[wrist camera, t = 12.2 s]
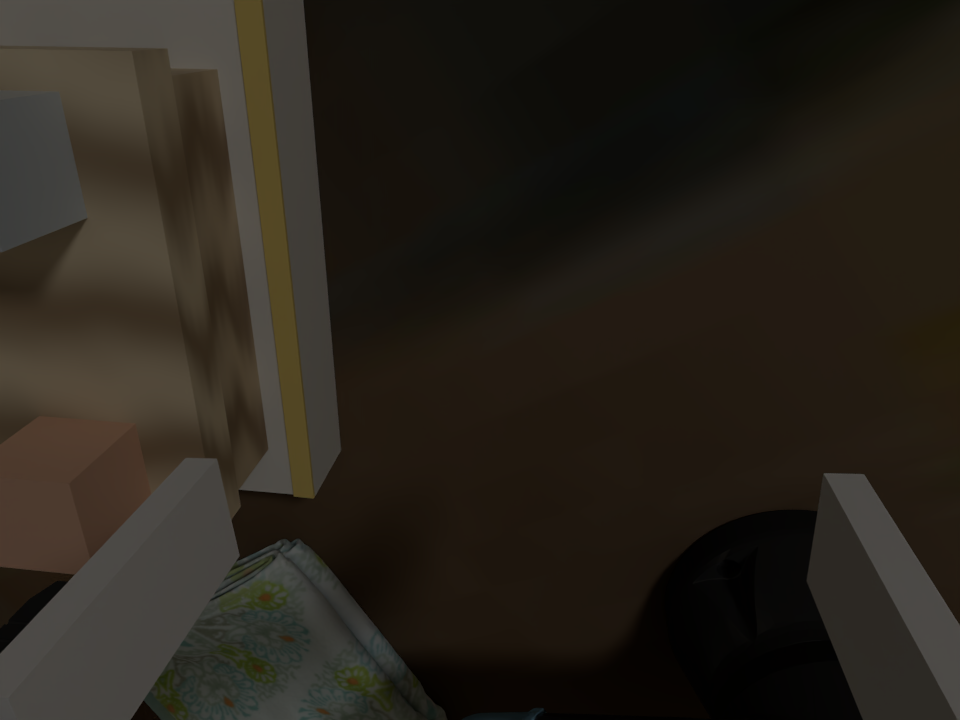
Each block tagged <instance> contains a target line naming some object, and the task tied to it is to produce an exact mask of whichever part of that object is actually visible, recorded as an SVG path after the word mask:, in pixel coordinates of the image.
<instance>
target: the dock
mask: <svg viewBox="0 0 960 720" xmlns="http://www.w3.org/2000/svg"><path fill="white" fill-rule="evenodd" d="M0 46H56V47H115V48H167V49H168V55H169V61H170V67H171V68H180V69H217V70H218V78H219V85H220V93H221V100H222V108H223V115H224V122H225V130H226V137H227V145H228V152H229V160H230V167H231V174H232V182H233V189H234V197H235V204H236V212H237V219H238V226H239V234H240V241H241V249H242V256H243V264H244V271H245V278H246V286H247V293H248V301H249V308H250V316H251V323H252V330H253V338H254V345H255V353H256V360H257V368H258V375H259V382H260V390H261V397H262V405H263V412H264V420H265V427H266V434H267V442H268V451H267V452H266V453H265V455H264V456H263V457H262V459H261V460H260V461H259V463H258V464H257V466H256V467H255V468H254V470H253V471H252V472H251V474H250V475H249V476H248V478H247V479H246V481H245V482H244V483H243V485H242V486H241V487H240V489H239V490H249V491H261V492H272V493H283V494H294V497H304V498H314V497H315V495H316V494H317V492H318V490H319V488H320V486H321V485H322V483H323V481H324V479H325V478H326V476H327V474H328V472H329V470H330V469H331V467H332V465H333V463H334V462H335V460H336V458H337V456H338V455H339V453H340V451H341V445H340V433H339V421H338V410H337V398H336V386H335V374H334V362H333V350H332V338H331V326H330V314H329V302H328V290H327V278H326V267H325V255H324V243H323V231H322V219H321V207H320V195H319V183H318V171H317V159H316V147H315V135H314V124H313V112H312V100H311V88H310V76H309V64H308V52H307V40H306V28H305V16H304V4H303V0H0Z"/></svg>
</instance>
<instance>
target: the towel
mask: <svg viewBox="0 0 960 720" xmlns="http://www.w3.org/2000/svg"><path fill="white" fill-rule="evenodd" d="M144 701H145V702H146V703H147V705H148V706H149V707H150V708H151V709H152V710H153V711H154V712H155V713H156V714H157V715H158V716H159V718H160V719H161V720H447V718H446V715H445V711H444V710H443V709H442V708H441V707H440V706H438V705H436V704H435V703H434V702H433V701H432V700H431V699H430V698H429V697H428V696H427V694H426V693H425V692H424V689H423V686H422V685H421V683H420V681H419V680H418V679H417V678H416V676H415V675H414V674H413V673H412V672H411V670H410V669H409V668H408V667H407V665H406V664H405V663H404V661H403V660H402V659H401V657H400V656H399V655H398V654H397V653H396V652H395V650H394V649H393V647H392V646H391V645H390V643H389V642H388V641H387V640H386V639H385V638H384V636H383V635H382V634H381V632H380V631H379V630H378V628H377V627H376V626H375V625H374V624H373V622H372V621H371V620H370V619H369V617H368V616H367V615H366V614H365V613H364V611H363V610H362V609H361V608H360V606H359V605H358V604H357V602H356V601H355V600H354V599H353V597H352V596H351V595H350V594H349V592H348V591H347V590H346V588H345V587H344V586H343V585H342V584H341V582H340V581H339V579H338V578H337V577H336V576H335V575H334V573H333V572H332V571H331V570H330V569H329V567H328V566H327V565H326V564H325V563H324V562H323V561H322V559H321V558H320V557H319V556H318V555H317V554H316V553H315V552H314V551H313V550H312V549H311V548H310V547H309V546H307V545H305V544H304V543H303V542H302V541H301V540H300V539H296V540H294V541H293V542H291V543H290V542H289V541H288V540H287V539H282V540H280V541H278V542H277V543H276V544H273V545H270V546H268V547H266V548H264V549H262V550H260V551H258V552H256V553H254V554H252V555H250V556H248V557H245V558H243V559H241V560H238V561H236V562H235V563H234V565H233V566H232V568H231V569H230V571H229V572H228V574H227V575H226V577H225V578H224V580H223V581H222V583H221V584H220V586H219V587H218V589H217V590H216V592H215V593H214V595H213V596H212V598H211V599H210V601H209V602H208V604H207V605H206V607H205V608H204V610H203V611H202V613H201V614H200V616H199V617H198V619H197V620H196V622H195V623H194V625H193V626H192V628H191V630H190V631H189V633H188V634H187V636H186V637H185V639H184V640H183V642H182V643H181V645H180V646H179V648H178V649H177V651H176V652H175V654H174V655H173V657H172V658H171V660H170V661H169V663H168V664H167V666H166V667H165V669H164V670H163V672H162V673H161V675H160V676H159V678H158V679H157V681H156V682H155V684H154V685H153V687H152V688H151V690H150V691H149V693H148V694H147V696H146V697H145V699H144Z"/></svg>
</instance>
